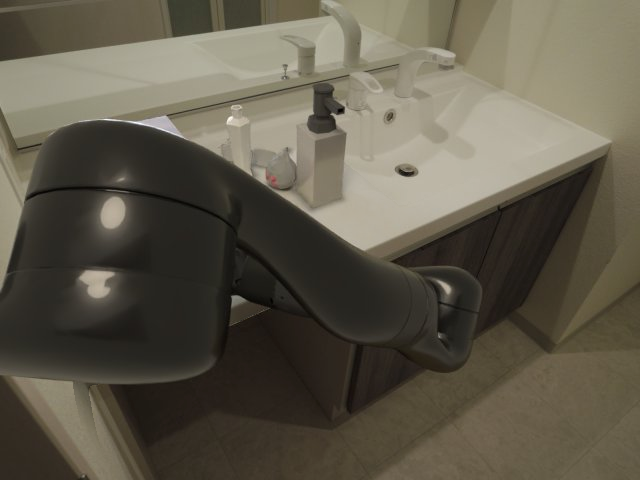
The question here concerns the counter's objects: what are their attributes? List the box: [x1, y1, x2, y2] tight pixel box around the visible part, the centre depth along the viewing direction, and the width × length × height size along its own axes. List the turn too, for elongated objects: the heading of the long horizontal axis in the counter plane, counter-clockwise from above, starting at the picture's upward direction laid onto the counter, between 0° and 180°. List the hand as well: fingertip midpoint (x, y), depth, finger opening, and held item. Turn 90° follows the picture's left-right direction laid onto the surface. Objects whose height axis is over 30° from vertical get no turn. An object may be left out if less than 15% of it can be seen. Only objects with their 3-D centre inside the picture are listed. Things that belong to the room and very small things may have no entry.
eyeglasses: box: [217, 138, 289, 168], centre depth 93 cm, size 14×8×4 cm, turn 77°
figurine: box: [265, 149, 297, 190], centre depth 83 cm, size 6×7×8 cm
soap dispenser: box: [295, 82, 348, 209], centre depth 75 cm, size 6×9×22 cm
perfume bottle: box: [225, 104, 254, 177], centre depth 83 cm, size 5×4×15 cm
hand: (176, 249), depth 52 cm, fingers open, 8 cm apart
